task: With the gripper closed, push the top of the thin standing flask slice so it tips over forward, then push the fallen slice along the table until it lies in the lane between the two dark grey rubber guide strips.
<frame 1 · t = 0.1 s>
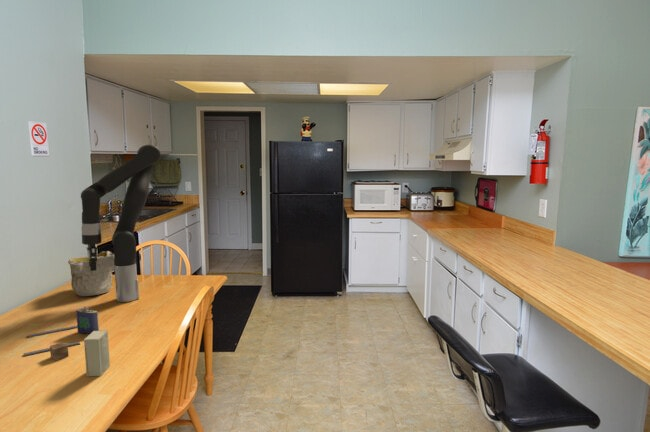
hand: (92, 268, 174), 17 cm above the table, tool pointing down, fingers open, 8 cm apart
guide strip 1: (52, 349, 134), on the table
guide strip 2: (53, 331, 148), on the table
skincare box: (98, 372, 120), on the table
ceramic vessel: (92, 291, 195), on the table
flask: (88, 333, 147), on the table
walnut cube: (59, 356, 129), on the table
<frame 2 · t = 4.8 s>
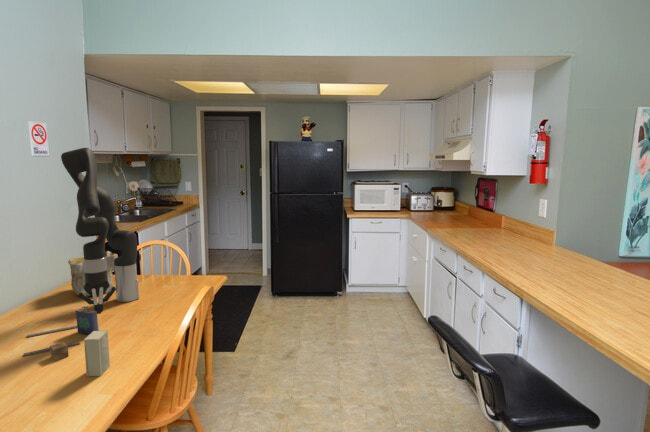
hand: (98, 313, 148), 7 cm above the table, tool pointing down, fingers closed
flask: (88, 333, 147), on the table, touching gripper
everything else where it was.
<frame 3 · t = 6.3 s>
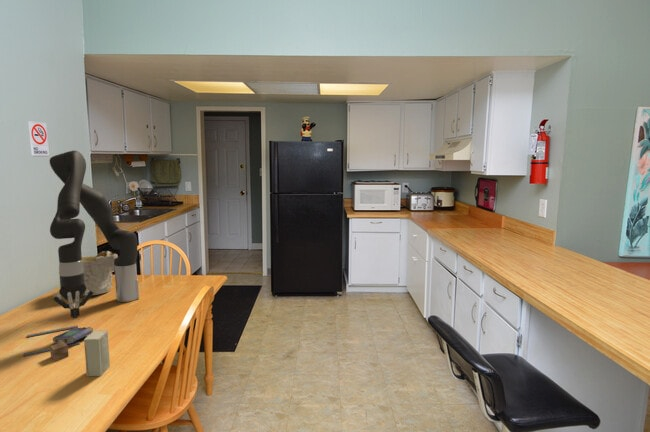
hand: (75, 317, 144), 7 cm above the table, tool pointing down, fingers closed
flask: (83, 330, 146), point 2 cm above the table, touching guide strip 1
everything else where it was.
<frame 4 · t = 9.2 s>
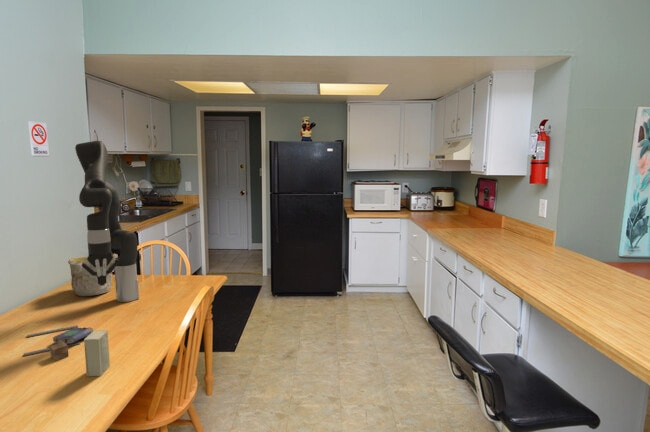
hand: (102, 284, 148), 18 cm above the table, tool pointing down, fingers closed
nothing on the table moved.
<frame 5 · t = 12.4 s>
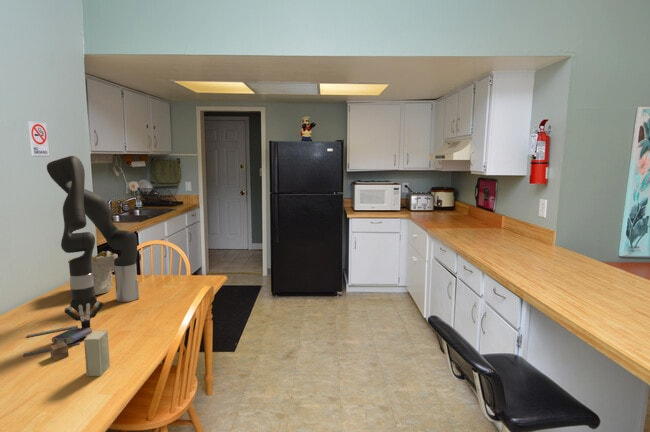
hand: (86, 329, 147), 2 cm above the table, tool pointing down, fingers closed
flask: (82, 330, 145), point 2 cm above the table, touching gripper
everything else where it was.
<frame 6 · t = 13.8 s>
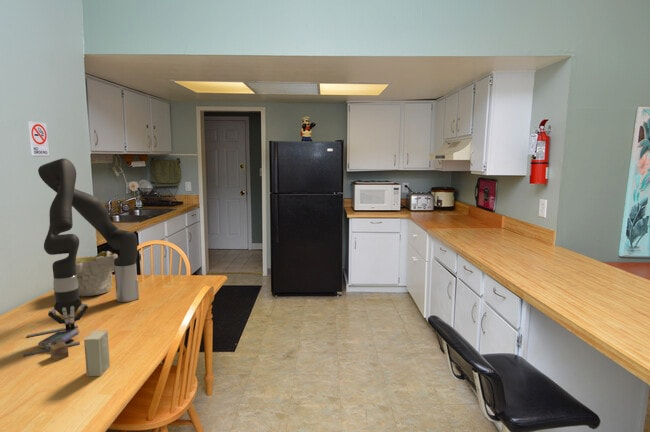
hand: (70, 332, 144), 2 cm above the table, tool pointing down, fingers closed
flask: (68, 333, 143), point 2 cm above the table, touching gripper, guide strip 1
everything else where it was.
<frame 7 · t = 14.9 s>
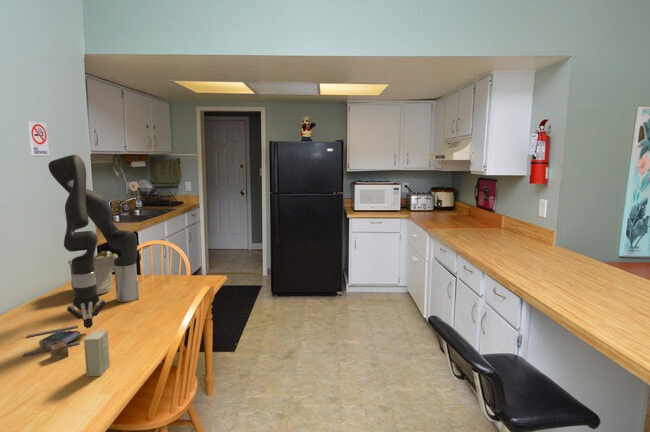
hand: (88, 327, 147), 2 cm above the table, tool pointing down, fingers closed
flask: (68, 333, 143), point 2 cm above the table, touching guide strip 1
everything else where it was.
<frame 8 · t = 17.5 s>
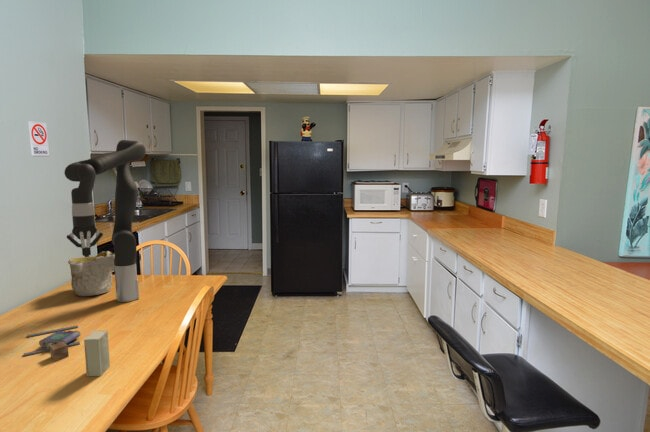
hand: (86, 256, 155), 27 cm above the table, tool pointing down, fingers closed
nothing on the table moved.
at the end: flask tilted 87°; flask inside the target area (4.6 cm from its centre), point 1.5 cm above the table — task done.
